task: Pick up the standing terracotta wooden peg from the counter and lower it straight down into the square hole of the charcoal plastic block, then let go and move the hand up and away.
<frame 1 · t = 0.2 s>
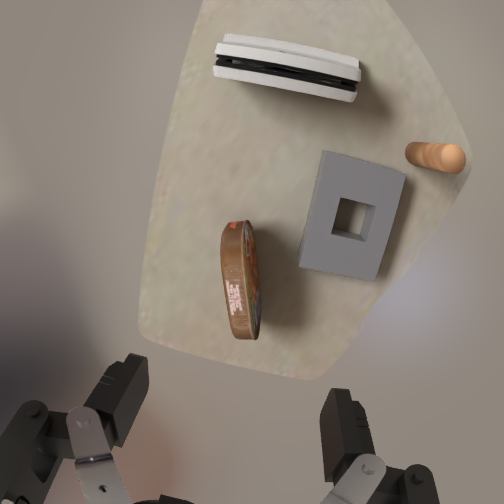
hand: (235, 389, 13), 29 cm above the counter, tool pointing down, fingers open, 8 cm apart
hinge: (287, 70, 33), on the counter
peg: (415, 153, 35), on the counter
hole block: (348, 214, 38), on the counter
tin: (246, 268, 42), on the counter
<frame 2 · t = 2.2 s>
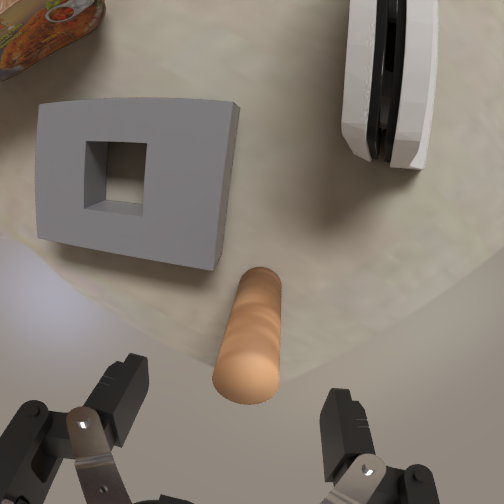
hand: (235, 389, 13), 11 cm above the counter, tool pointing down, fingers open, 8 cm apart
hinge: (383, 47, 16), on the counter
peg: (260, 286, 23), on the counter
hole block: (132, 172, 21), on the counter
tin: (51, 40, 17), on the counter
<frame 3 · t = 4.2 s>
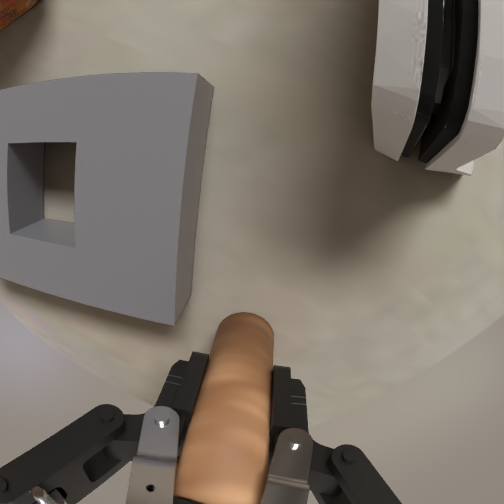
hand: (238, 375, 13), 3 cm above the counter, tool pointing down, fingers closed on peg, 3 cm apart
hinge: (411, 8, 10), on the counter
peg: (245, 336, 16), on the counter, touching gripper
hole block: (73, 181, 14), on the counter
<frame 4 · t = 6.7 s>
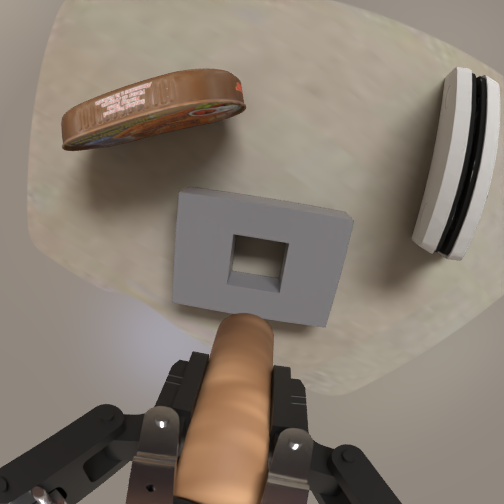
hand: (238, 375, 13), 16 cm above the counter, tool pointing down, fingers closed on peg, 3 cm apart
hinge: (440, 160, 25), on the counter
peg: (245, 337, 16), point 13 cm above the counter, touching gripper
hole block: (259, 252, 29), on the counter
tin: (165, 115, 25), on the counter
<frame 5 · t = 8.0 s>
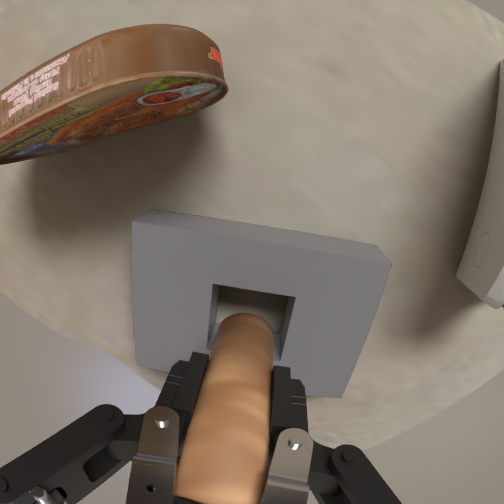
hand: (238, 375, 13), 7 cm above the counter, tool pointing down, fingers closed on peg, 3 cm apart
hinge: (495, 170, 16), on the counter
peg: (245, 336, 16), point 4 cm above the counter, touching gripper
hole block: (252, 300, 20), on the counter
tin: (119, 109, 17), on the counter
when the fingers open (5 cm above the counter, at t = 9.2 s): peg drops 1 cm, resting in hole block.
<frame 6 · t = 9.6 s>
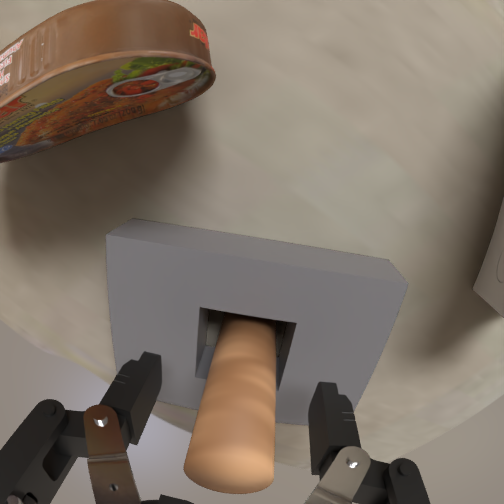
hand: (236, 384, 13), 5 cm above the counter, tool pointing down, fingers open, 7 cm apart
peg: (249, 322, 18), resting in hole block
hole block: (247, 321, 18), on the counter
tin: (95, 104, 14), on the counter
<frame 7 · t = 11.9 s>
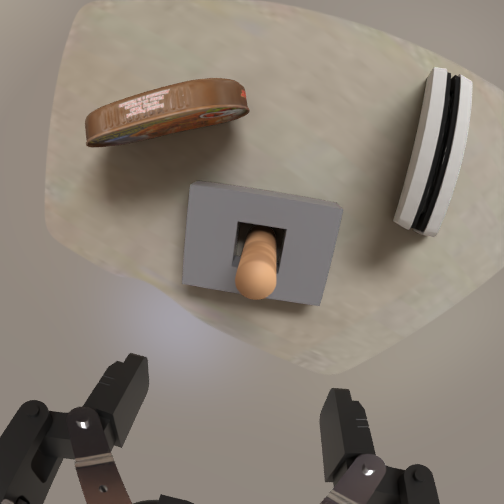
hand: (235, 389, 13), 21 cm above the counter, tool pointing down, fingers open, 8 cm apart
hinge: (420, 150, 28), on the counter
peg: (261, 239, 32), resting in hole block
hole block: (260, 238, 32), on the counter
tin: (176, 117, 29), on the counter
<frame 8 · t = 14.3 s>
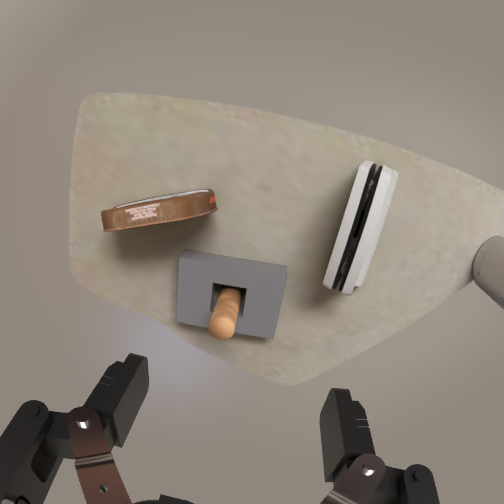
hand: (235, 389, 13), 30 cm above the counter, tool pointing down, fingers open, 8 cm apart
hinge: (355, 221, 40), on the counter
peg: (231, 290, 45), resting in hole block
hole block: (230, 290, 45), on the counter
tin: (167, 202, 41), on the counter
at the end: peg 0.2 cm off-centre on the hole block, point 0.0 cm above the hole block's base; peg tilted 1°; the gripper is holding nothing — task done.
